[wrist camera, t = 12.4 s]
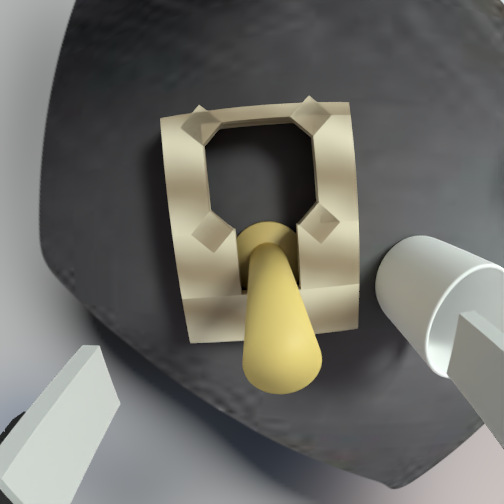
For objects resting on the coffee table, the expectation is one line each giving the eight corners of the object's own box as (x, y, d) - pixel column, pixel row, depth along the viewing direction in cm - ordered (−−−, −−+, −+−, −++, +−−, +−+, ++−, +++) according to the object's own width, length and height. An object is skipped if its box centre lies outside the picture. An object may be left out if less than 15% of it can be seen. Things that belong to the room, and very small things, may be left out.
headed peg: (227, 224, 27) (187, 294, 11) (301, 217, 27) (364, 278, 11) (235, 294, 28) (213, 425, 12) (305, 288, 28) (356, 411, 12)
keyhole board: (170, 118, 25) (159, 111, 22) (337, 104, 24) (347, 95, 21) (196, 326, 29) (190, 343, 26) (348, 313, 28) (358, 328, 25)
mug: (384, 358, 30) (426, 425, 19) (363, 249, 27) (419, 291, 17) (453, 328, 29) (508, 380, 19) (442, 222, 26) (516, 247, 16)
